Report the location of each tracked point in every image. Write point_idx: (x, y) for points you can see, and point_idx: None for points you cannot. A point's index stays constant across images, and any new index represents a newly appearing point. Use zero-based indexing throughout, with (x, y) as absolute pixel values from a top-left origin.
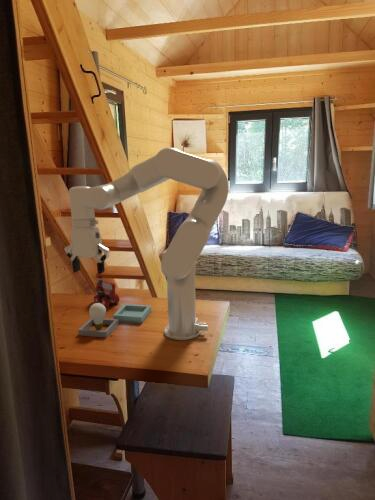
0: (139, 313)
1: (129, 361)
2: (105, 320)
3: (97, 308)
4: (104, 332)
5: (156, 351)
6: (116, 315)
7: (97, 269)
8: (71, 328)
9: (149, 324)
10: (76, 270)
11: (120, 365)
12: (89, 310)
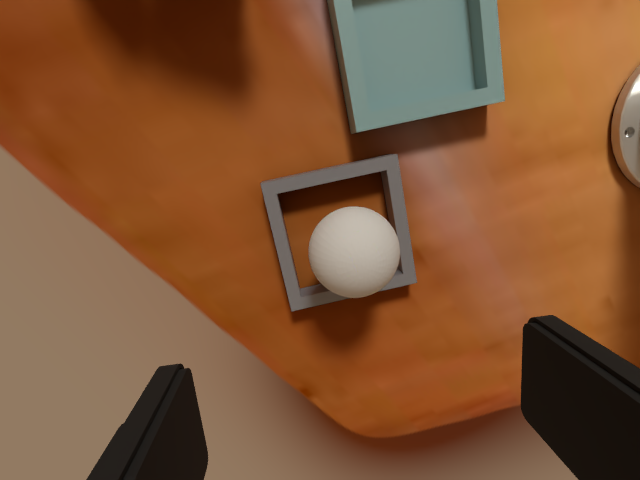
0: (439, 15)
1: None
2: (339, 179)
3: (381, 285)
4: (408, 283)
5: (622, 288)
6: (373, 128)
7: (559, 455)
8: (217, 266)
9: (522, 100)
10: (200, 449)
11: None
12: (328, 288)
